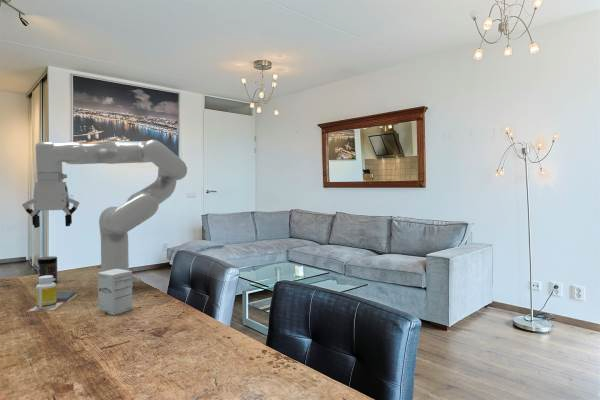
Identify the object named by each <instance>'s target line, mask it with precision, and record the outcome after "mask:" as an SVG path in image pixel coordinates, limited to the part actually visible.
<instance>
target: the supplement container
mask: <svg viewBox="0 0 600 400" xmlns="http://www.w3.org/2000/svg"><path fill="white" fill-rule="evenodd" d="M47 275H52V276H53V282H54V283H58V276H59V275H58V257H57V256H54V255H53V256H51V255H50V256H42V257H38V258H37V285H38V284H39V277H41V276H47Z"/></svg>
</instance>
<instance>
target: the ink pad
mask: <svg viewBox="0 0 600 400" xmlns="http://www.w3.org/2000/svg"><path fill="white" fill-rule="evenodd" d="M74 295H76V291H63V292H56V302H67V301H68V300H69V299H71V298H72V297H73V296H74ZM73 298H74V297H73ZM73 298H72V299H73ZM72 299H71V300H72ZM68 302H69V301H68ZM68 302H67V303H68Z"/></svg>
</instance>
